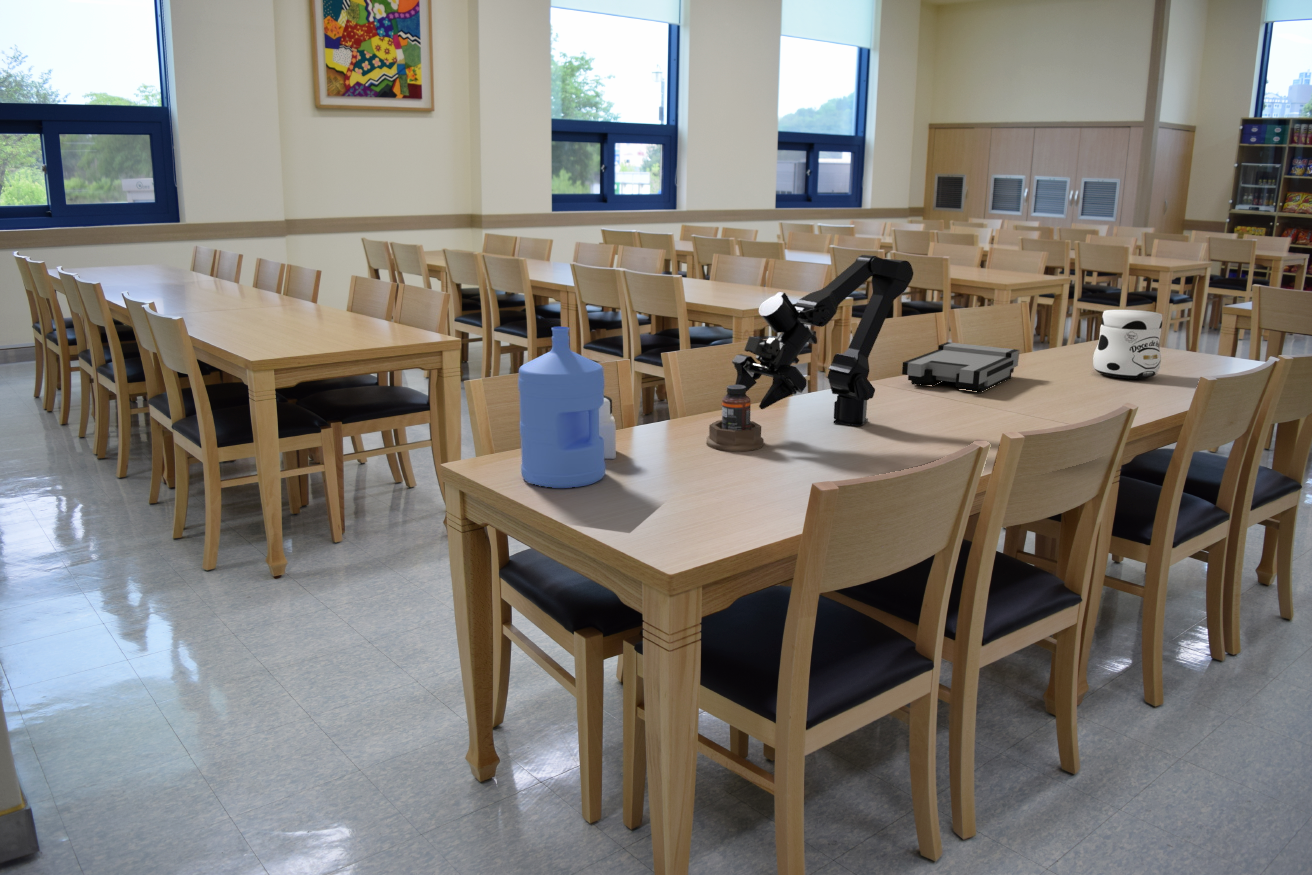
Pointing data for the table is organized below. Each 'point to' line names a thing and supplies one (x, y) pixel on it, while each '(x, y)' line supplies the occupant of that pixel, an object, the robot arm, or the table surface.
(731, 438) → the ring
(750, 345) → the robot arm
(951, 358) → the game console
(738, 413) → the supplement bottle
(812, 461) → the table surface
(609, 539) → the table surface
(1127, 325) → the cow print jar
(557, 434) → the water jug
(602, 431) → the medicine bottle
